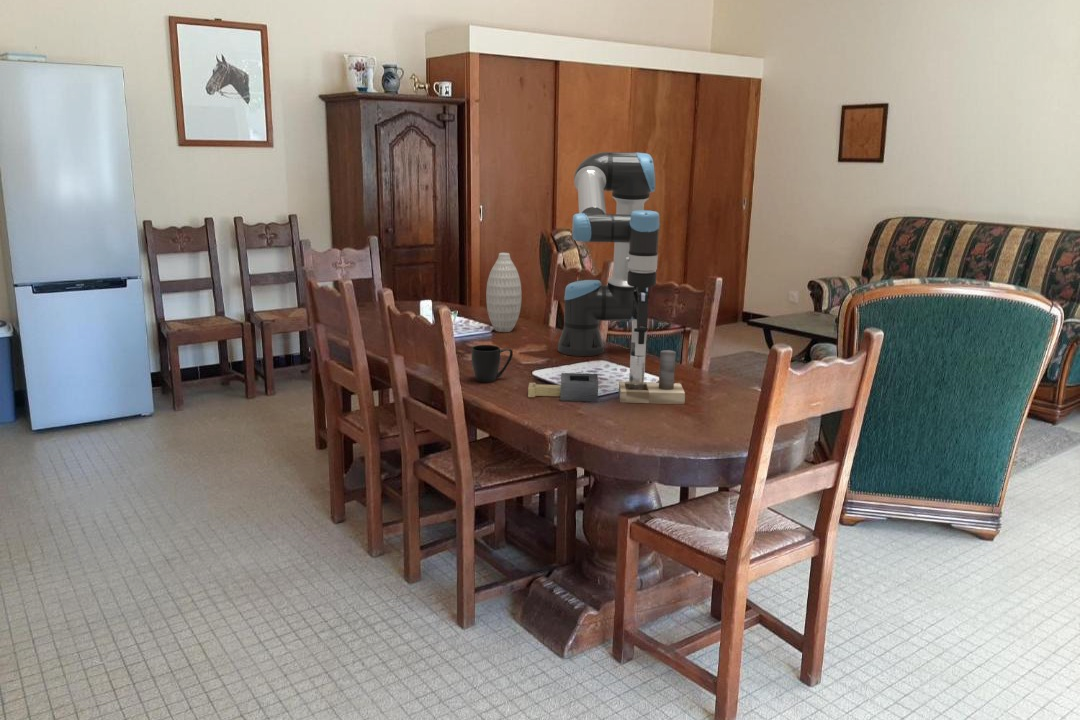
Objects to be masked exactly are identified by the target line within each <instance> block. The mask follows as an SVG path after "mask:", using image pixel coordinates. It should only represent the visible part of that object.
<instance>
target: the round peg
mask: <svg viewBox="0 0 1080 720" xmlns="http://www.w3.org/2000/svg"><path fill="white" fill-rule="evenodd" d="M629 358H630V360H629V374H628V377H629V378H628V382H629V390H644V382H645V367H646V355H645V356H635V342H633V343H631V342H630V357H629Z"/></svg>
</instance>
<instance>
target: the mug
mask: <svg viewBox="0 0 1080 720" xmlns="http://www.w3.org/2000/svg"><path fill="white" fill-rule="evenodd" d="M503 352H509V357H508V358H507V361H506V362H505V364H504V366H503V367H502V369H501V370H500V371H499V368H500V363H501V353H503ZM513 355H514V351H513V348H503V349H501V348H500V346H498V345H494V344H493V345H491V344H479V345H475V346H472V347H471V364H472V369H473V373H474V376H475V381H477V382H479V383H485V384H486V383H494V382H495V381H496V379H498V378H500V377H501V376H502V374H503V373H504V372H505V371H506V369H507V367H508V365H509V364H510V362H511V360H512V358H513Z"/></svg>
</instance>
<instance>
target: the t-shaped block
mask: <svg viewBox="0 0 1080 720" xmlns="http://www.w3.org/2000/svg"><path fill="white" fill-rule="evenodd" d="M528 383H529V384H528V388H527V398H536V397H561V384H537V383H536V382H528Z"/></svg>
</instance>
